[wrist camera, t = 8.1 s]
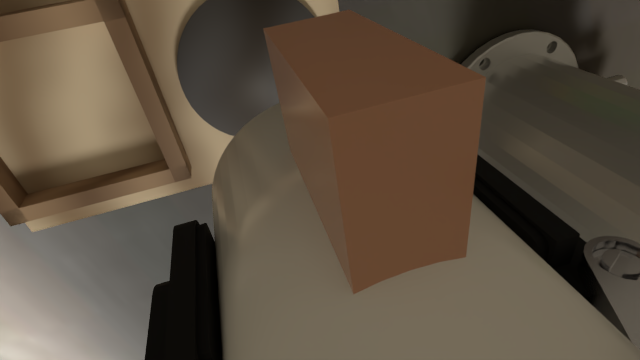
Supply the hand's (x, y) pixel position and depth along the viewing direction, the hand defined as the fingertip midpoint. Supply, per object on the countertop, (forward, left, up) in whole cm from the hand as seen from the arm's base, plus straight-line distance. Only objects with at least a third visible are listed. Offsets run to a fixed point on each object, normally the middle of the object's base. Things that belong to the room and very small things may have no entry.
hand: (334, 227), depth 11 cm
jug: (0, -1, -2) cm, 2 cm away
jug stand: (+6, 0, -16) cm, 17 cm away
